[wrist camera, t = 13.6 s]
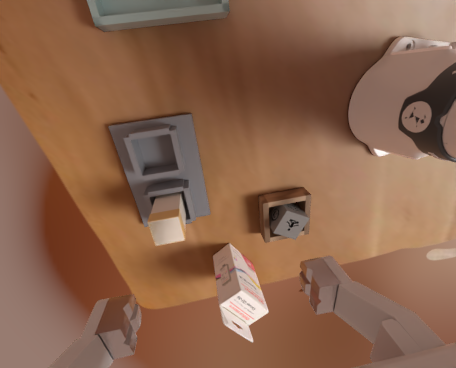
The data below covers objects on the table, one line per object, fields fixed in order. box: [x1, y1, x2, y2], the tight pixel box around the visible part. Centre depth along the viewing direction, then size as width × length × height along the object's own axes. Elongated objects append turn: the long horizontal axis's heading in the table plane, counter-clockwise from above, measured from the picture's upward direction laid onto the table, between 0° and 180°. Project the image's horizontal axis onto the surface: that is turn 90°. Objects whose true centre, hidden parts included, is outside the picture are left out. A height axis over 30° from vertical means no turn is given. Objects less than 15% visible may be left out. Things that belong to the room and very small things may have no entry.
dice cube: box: [269, 203, 310, 240], centre depth 41 cm, size 5×5×5 cm
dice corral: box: [258, 187, 311, 243], centre depth 42 cm, size 9×9×3 cm
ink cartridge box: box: [213, 243, 268, 342], centre depth 40 cm, size 9×5×15 cm, turn 40°
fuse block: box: [108, 113, 210, 227], centre depth 34 cm, size 12×18×4 cm, turn 7°
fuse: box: [147, 191, 186, 246], centre depth 33 cm, size 4×4×9 cm
